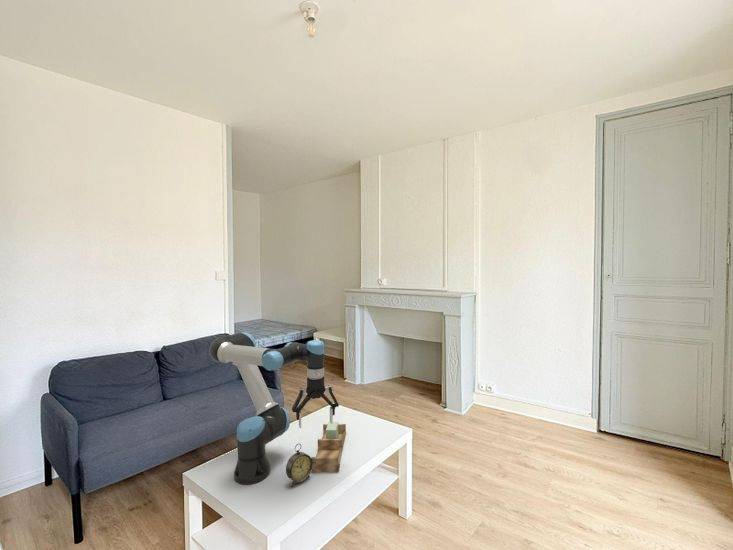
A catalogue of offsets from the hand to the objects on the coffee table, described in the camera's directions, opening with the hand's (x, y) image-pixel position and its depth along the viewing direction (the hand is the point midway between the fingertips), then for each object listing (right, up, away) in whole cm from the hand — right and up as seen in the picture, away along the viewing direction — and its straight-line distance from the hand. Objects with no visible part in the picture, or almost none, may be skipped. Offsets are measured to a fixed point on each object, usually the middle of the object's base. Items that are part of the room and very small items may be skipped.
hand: (315, 424), depth 153 cm
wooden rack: (+5, -21, +18) cm, 28 cm away
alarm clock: (-6, -22, -4) cm, 24 cm away
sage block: (+5, -20, +26) cm, 33 cm away
